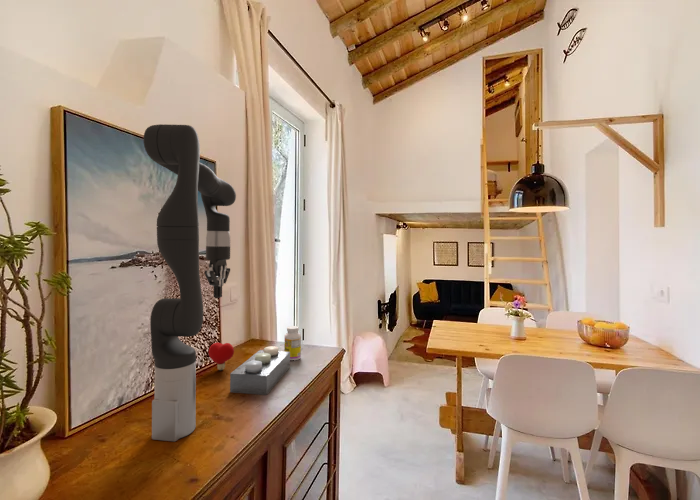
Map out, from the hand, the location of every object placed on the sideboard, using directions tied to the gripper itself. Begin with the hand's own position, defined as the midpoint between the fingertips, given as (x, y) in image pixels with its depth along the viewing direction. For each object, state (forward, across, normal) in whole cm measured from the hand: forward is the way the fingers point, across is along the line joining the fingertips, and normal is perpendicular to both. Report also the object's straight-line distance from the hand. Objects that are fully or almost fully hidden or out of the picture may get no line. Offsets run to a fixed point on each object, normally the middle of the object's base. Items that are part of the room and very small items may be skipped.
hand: (217, 297), depth 114 cm
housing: (+29, +7, -13) cm, 33 cm away
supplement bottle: (+29, +29, -17) cm, 45 cm away
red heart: (+29, +12, +5) cm, 32 cm away
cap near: (+26, -1, -13) cm, 29 cm away
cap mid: (+26, +7, -13) cm, 30 cm away
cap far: (+26, +15, -13) cm, 33 cm away
